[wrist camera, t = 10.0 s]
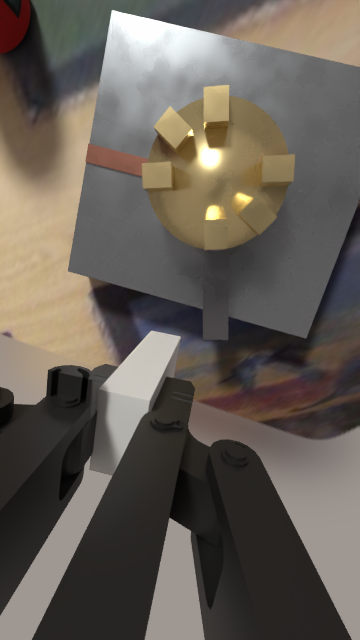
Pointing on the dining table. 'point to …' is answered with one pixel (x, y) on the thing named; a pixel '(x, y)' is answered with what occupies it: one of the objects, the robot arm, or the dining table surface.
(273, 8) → the dining table surface
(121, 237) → the housing
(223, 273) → the studded gold disc
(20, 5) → the beverage can
